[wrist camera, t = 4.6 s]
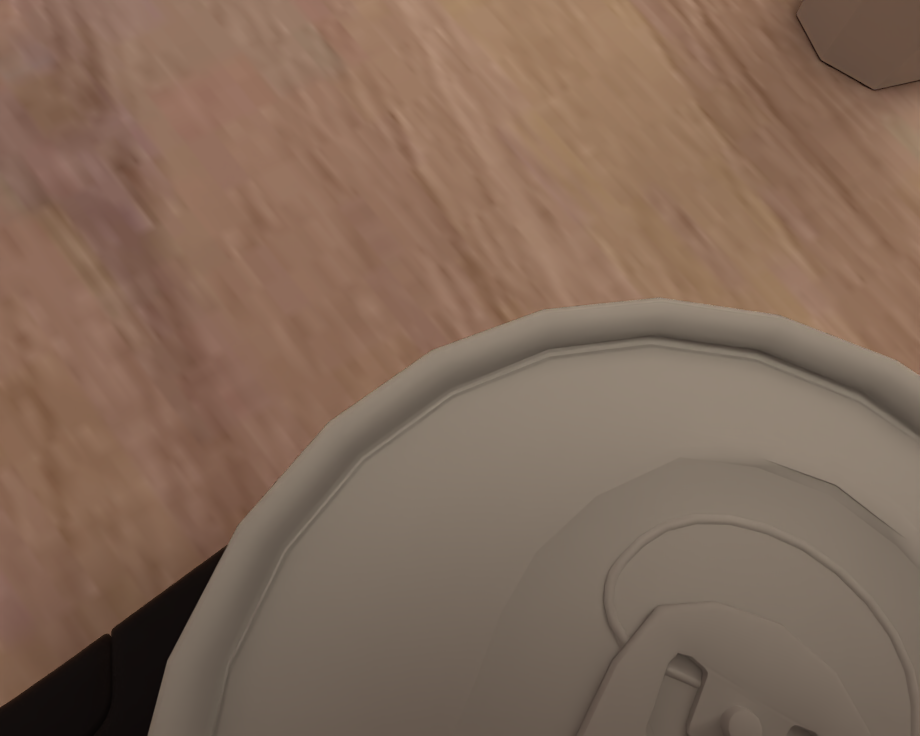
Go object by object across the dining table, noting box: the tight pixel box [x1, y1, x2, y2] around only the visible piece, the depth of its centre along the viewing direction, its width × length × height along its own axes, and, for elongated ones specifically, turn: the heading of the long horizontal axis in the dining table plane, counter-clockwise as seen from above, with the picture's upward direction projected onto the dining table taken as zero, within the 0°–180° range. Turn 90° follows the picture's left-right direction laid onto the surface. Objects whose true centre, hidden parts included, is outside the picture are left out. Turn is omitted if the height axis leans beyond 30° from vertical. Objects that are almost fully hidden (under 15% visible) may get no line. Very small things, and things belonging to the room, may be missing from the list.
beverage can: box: [148, 298, 920, 736], centre depth 8 cm, size 5×5×12 cm
